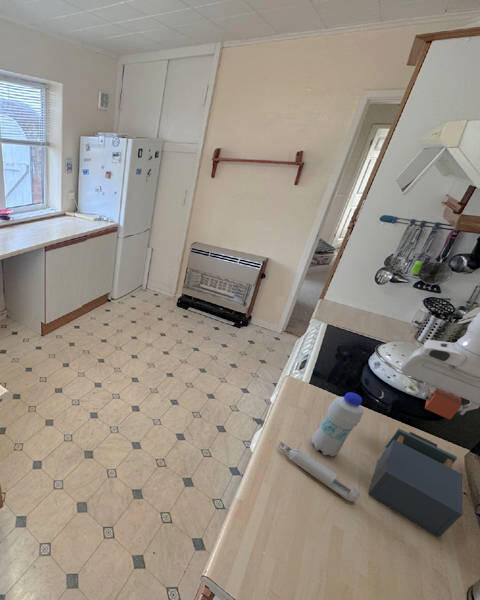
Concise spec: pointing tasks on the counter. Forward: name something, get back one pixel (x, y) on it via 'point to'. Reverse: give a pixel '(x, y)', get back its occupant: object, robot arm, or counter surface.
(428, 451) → the drawer
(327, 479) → the white cylindrical device
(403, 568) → the counter surface
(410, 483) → the cabinet
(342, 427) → the bottle
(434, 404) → the block
